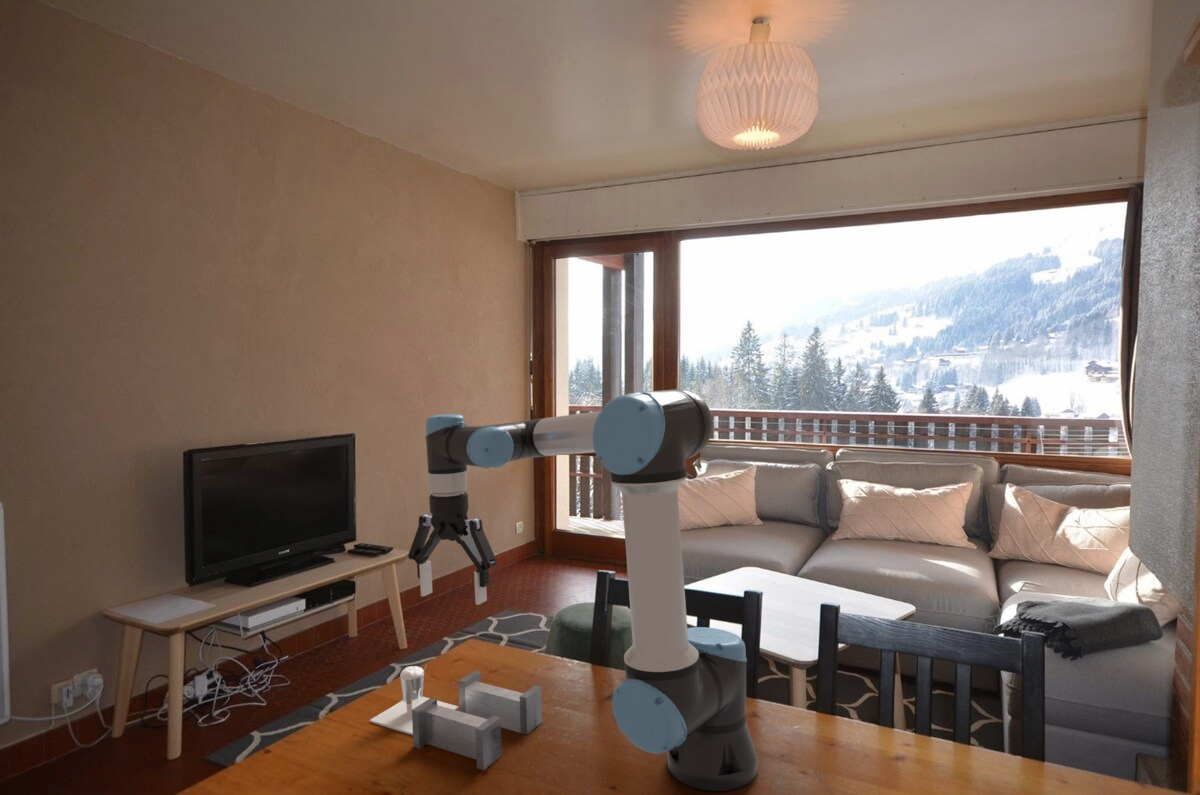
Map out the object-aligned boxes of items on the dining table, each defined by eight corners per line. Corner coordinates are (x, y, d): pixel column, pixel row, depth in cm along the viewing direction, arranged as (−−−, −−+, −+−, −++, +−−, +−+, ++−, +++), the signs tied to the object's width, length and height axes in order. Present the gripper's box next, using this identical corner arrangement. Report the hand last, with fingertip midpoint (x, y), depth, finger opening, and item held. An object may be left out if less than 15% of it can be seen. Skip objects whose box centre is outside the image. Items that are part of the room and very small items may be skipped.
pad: (458, 708, 147) (458, 706, 147) (416, 736, 136) (416, 734, 136) (413, 695, 153) (413, 693, 153) (369, 721, 142) (369, 719, 142)
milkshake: (423, 720, 142) (421, 669, 141) (397, 717, 143) (395, 668, 142) (433, 708, 146) (431, 659, 145) (408, 706, 147) (406, 658, 147)
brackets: (542, 722, 141) (541, 686, 140) (483, 770, 125) (482, 730, 125) (476, 704, 149) (474, 670, 148) (413, 747, 133) (411, 709, 132)
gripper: (511, 492, 143) (516, 600, 144) (412, 486, 154) (417, 585, 155) (489, 499, 136) (494, 612, 137) (387, 492, 147) (392, 596, 148)
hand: (453, 598), depth 146 cm, fingers open, 13 cm apart
